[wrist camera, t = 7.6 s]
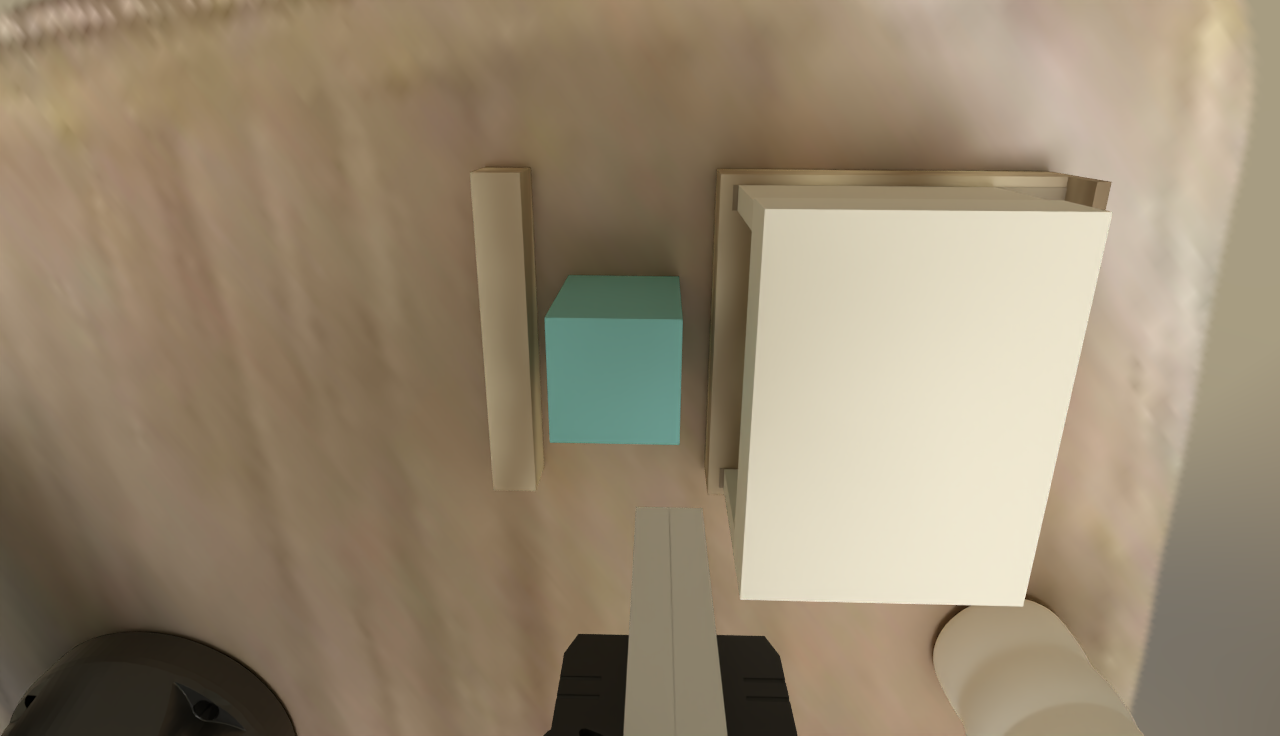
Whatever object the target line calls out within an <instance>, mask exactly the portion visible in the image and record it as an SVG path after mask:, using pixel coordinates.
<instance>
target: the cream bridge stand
mask: <svg viewBox="0 0 1280 736" xmlns="http://www.w3.org/2000/svg"><path fill="white" fill-rule="evenodd" d="M737 211H738V212H739V214H740V215H741V216H742V218H743V219H744V221H745V222H746V224H747V225H748V226H749V228H750V229H751V231H752V236H751V253H750V271H749V288H748V306H747V323H746V340H745V358H744V375H743V392H742V410H741V427H740V444H739V462H738V469H724V495H725V501H726V508H727V514H728V521H729V527H730V534H731V540H732V547H733V556H734V562H735V569H736V575H737V582H738V589H739V595H740V600H775V601H816V602H857V603H899V604H940V605H981V606H1022V607H1023V605H1024V600H1025V596H1026V591H1027V587H1028V583H1029V578H1030V574H1031V569H1032V565H1033V561H1034V556H1035V552H1036V547H1037V543H1038V539H1039V534H1040V530H1041V525H1042V521H1043V517H1044V512H1045V508H1046V503H1047V499H1048V495H1049V490H1050V486H1051V481H1052V477H1053V473H1054V468H1055V464H1056V459H1057V455H1058V451H1059V446H1060V442H1061V437H1062V433H1063V429H1064V424H1065V420H1066V415H1067V411H1068V407H1069V402H1070V398H1071V393H1072V389H1073V385H1074V380H1075V376H1076V371H1077V367H1078V363H1079V358H1080V354H1081V349H1082V345H1083V341H1084V336H1085V332H1086V327H1087V323H1088V319H1089V314H1090V310H1091V305H1092V301H1093V297H1094V292H1095V288H1096V283H1097V279H1098V275H1099V270H1100V266H1101V261H1102V257H1103V253H1104V248H1105V244H1106V239H1107V235H1108V231H1109V226H1110V222H1111V217H1112V213H1113V212H1110V211H1106V210H1102V209H1097V208H1093V207H1089V206H1085V205H1080V204H1076V203H1072V202H1068V201H1064V200H1046V199H1042V198H1038V197H1034V196H1030V195H1026V194H1021V193H1017V192H1013V191H1009V190H1005V189H1001V188H997V187H921V186H795V185H739V191H738V210H737Z"/></svg>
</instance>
